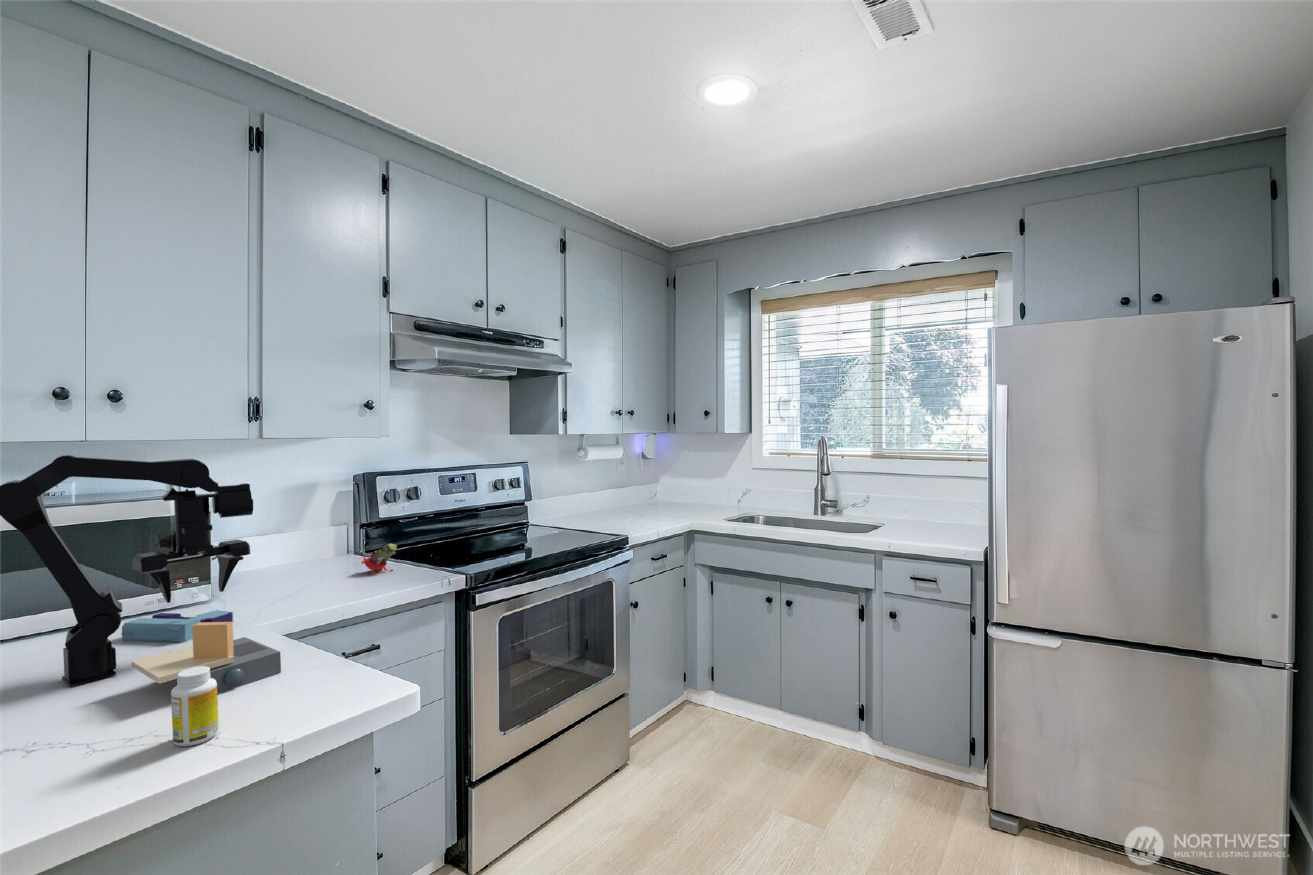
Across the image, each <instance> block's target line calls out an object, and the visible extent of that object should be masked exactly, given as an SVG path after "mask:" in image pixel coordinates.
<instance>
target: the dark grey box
mask: <svg viewBox="0 0 1313 875" xmlns="http://www.w3.org/2000/svg"><path fill="white" fill-rule="evenodd" d="M233 650H234V655H232V656H234V662H232V663H228V664H225V665H222V666H218V667H215V668H211V669H210V678H213V679H215V680H216V682H217V694H219V693H222V692H226V691H229V690H231V689H234V688H237V687H238V688H239V687H240V686H243V685H247V684H251V683H253V682H257V681H261V680H263V679H266V678H268V677H272V676H275V675H274V674H276V675H279V674H282V661H281V651H280V650H277V649H275V648H272V647H270V646H267V645H266V644H265V645H264V644H263V643H260V642H258V641H255V640H253V639H251V638H249V637H245V636H243V637H239V638H236V639H233ZM278 673H279V674H278Z"/></svg>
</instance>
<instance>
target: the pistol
mask: <svg viewBox="0 0 1313 875" xmlns="http://www.w3.org/2000/svg"><path fill="white" fill-rule="evenodd" d="M204 622H233V623H234V611H229V610H228V611H226V610H219V609H215V610H212V611H208V612H203V613H200V614H196V615H194V616H192V617H191V616H190V617H189V616H182V615H181V613H179V612H178V613H177V612H176V613H173V612H172V613H170V612H167V613H166V612H165V613H164V612H160V613H156V614H153V615H152V617H151V618H150V617H149V618H148V617H147V618H146V617H140V618H136V619H133V620H130V621H127V622H124V624H122V626H121V634H120V636H121V639H122V641H126V642H157V643H186V642H188V641H190V640H191V641H192V640H193V631H192V625H195V624H197V623H204Z"/></svg>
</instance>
